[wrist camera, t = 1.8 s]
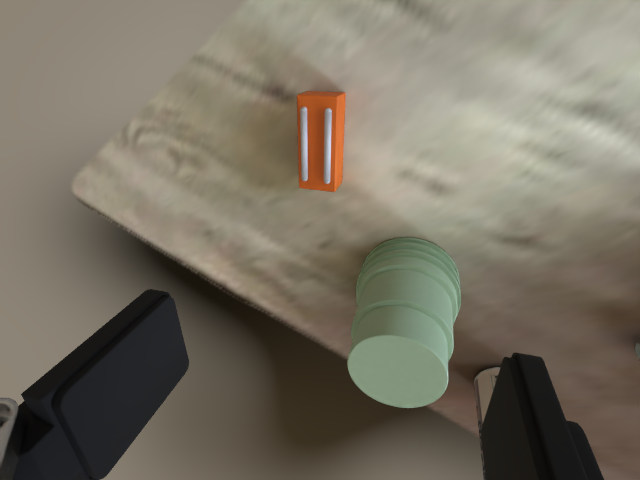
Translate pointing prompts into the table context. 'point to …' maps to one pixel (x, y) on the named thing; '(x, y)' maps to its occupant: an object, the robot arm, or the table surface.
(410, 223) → the table surface
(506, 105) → the table surface
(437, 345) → the cup stack
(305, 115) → the striped orange block
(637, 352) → the clamp
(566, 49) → the table surface
